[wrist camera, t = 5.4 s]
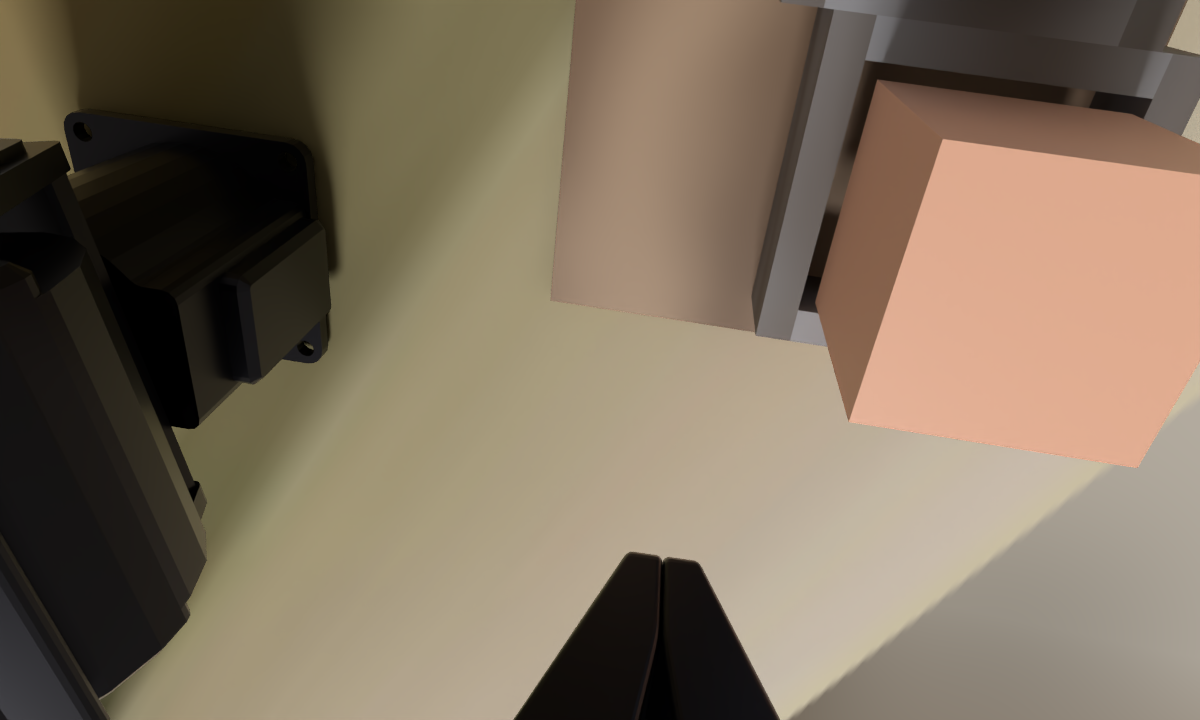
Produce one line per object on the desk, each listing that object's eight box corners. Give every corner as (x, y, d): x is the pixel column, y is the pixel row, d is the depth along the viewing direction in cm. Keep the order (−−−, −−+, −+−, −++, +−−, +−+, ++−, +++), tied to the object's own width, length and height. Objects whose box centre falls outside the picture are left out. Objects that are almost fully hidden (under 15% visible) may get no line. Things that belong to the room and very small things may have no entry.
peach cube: (815, 302, 17) (848, 421, 13) (877, 79, 15) (942, 138, 11) (1032, 335, 17) (1136, 467, 13) (1131, 114, 14) (1300, 189, 10)
